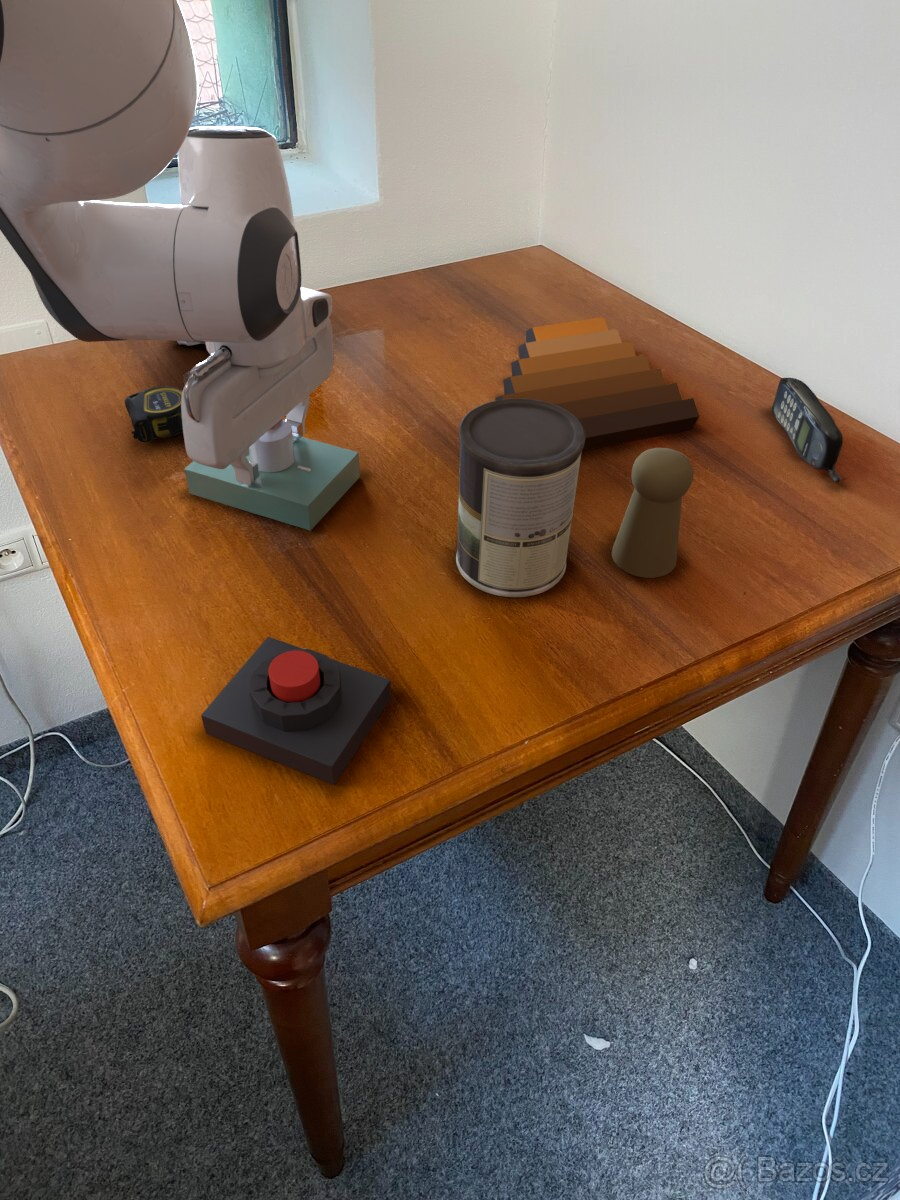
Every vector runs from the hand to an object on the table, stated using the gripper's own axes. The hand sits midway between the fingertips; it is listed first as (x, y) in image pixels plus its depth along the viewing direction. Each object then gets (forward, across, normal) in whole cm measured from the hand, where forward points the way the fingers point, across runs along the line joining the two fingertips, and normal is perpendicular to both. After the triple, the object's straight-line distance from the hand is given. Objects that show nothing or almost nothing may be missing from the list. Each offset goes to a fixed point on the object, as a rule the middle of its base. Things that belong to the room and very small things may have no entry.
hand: (272, 457), depth 87 cm
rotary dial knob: (0, 0, 0) cm, 0 cm away
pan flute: (+4, +29, -19) cm, 35 cm away
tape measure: (+4, +3, +17) cm, 18 cm away
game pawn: (+4, +5, -37) cm, 38 cm away
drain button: (0, -25, -18) cm, 31 cm away
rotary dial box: (+3, 0, 0) cm, 3 cm away
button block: (+3, -25, -18) cm, 31 cm away
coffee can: (+4, -1, -26) cm, 26 cm away
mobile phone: (+4, +31, -48) cm, 57 cm away
